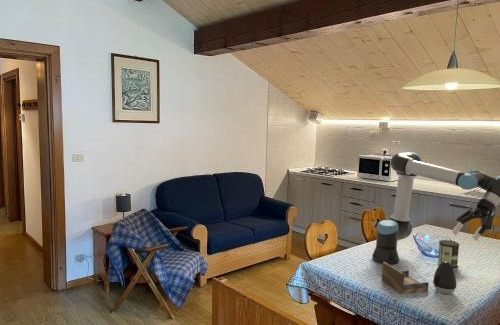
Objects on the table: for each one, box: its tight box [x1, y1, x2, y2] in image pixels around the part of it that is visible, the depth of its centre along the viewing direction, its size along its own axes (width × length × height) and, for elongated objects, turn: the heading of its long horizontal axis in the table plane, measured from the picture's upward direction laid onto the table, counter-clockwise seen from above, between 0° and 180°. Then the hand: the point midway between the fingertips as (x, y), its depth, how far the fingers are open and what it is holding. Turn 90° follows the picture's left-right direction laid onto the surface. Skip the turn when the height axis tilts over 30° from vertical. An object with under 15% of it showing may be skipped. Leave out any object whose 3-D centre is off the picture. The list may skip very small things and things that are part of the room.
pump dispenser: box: [432, 262, 459, 295], centre depth 185 cm, size 10×10×15 cm
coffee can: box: [437, 239, 460, 270], centre depth 219 cm, size 10×10×14 cm
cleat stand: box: [381, 262, 429, 295], centre depth 191 cm, size 15×16×10 cm
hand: (463, 235), depth 188 cm, fingers open, 13 cm apart
